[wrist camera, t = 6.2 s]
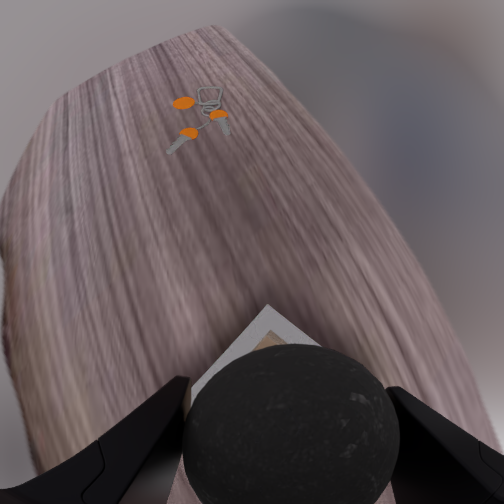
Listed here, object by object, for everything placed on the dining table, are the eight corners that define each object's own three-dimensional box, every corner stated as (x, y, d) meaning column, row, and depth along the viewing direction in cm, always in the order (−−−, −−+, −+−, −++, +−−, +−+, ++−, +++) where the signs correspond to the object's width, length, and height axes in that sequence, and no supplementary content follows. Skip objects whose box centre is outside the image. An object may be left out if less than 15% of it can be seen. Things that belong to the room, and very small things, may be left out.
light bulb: (243, 351, 15) (266, 263, 6) (339, 404, 14) (478, 384, 5) (182, 442, 12) (104, 497, 4) (282, 496, 11) (357, 599, 3)
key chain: (174, 91, 36) (173, 85, 35) (230, 88, 36) (230, 83, 36) (161, 157, 30) (160, 151, 29) (233, 154, 31) (233, 148, 30)
